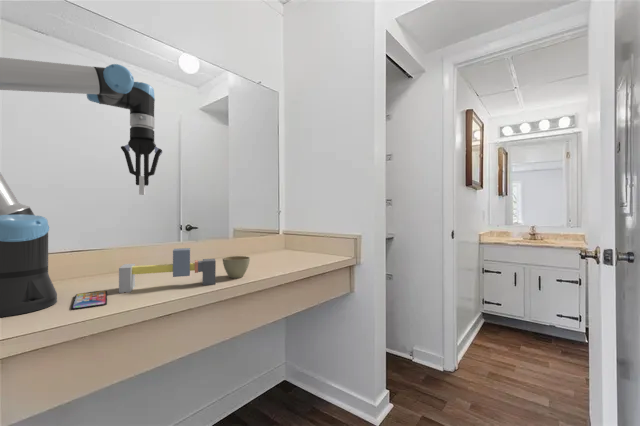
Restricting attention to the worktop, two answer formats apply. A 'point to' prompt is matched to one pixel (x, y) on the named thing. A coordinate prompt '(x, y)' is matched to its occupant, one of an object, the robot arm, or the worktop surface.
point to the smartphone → (89, 300)
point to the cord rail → (130, 270)
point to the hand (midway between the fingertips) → (142, 194)
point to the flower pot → (236, 265)
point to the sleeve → (181, 262)
